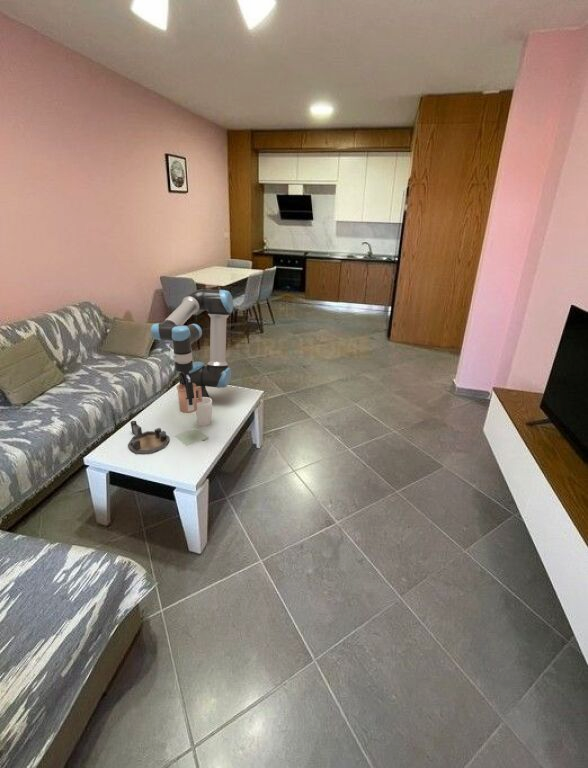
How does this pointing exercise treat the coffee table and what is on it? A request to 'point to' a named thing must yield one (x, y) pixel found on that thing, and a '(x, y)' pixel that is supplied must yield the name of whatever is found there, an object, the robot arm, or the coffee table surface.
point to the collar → (138, 433)
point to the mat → (192, 436)
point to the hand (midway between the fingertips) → (188, 406)
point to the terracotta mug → (183, 396)
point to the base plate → (149, 443)
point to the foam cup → (204, 411)
